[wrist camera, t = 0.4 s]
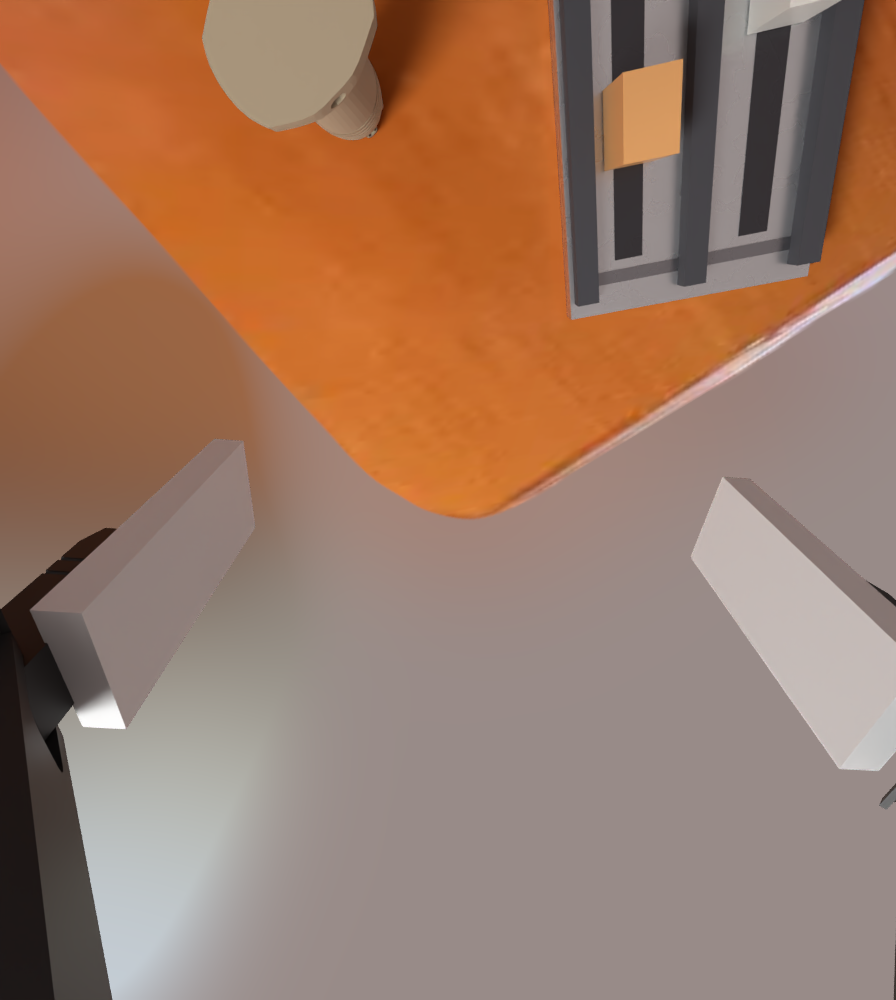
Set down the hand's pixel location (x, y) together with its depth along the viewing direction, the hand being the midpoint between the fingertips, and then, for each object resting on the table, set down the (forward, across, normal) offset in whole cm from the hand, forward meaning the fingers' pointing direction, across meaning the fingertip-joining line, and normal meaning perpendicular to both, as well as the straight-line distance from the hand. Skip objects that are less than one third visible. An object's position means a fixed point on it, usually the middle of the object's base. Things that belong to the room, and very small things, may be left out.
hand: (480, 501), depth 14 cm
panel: (+26, +13, +13) cm, 32 cm away
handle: (+27, -8, +12) cm, 30 cm away
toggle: (+25, +9, +12) cm, 29 cm away
